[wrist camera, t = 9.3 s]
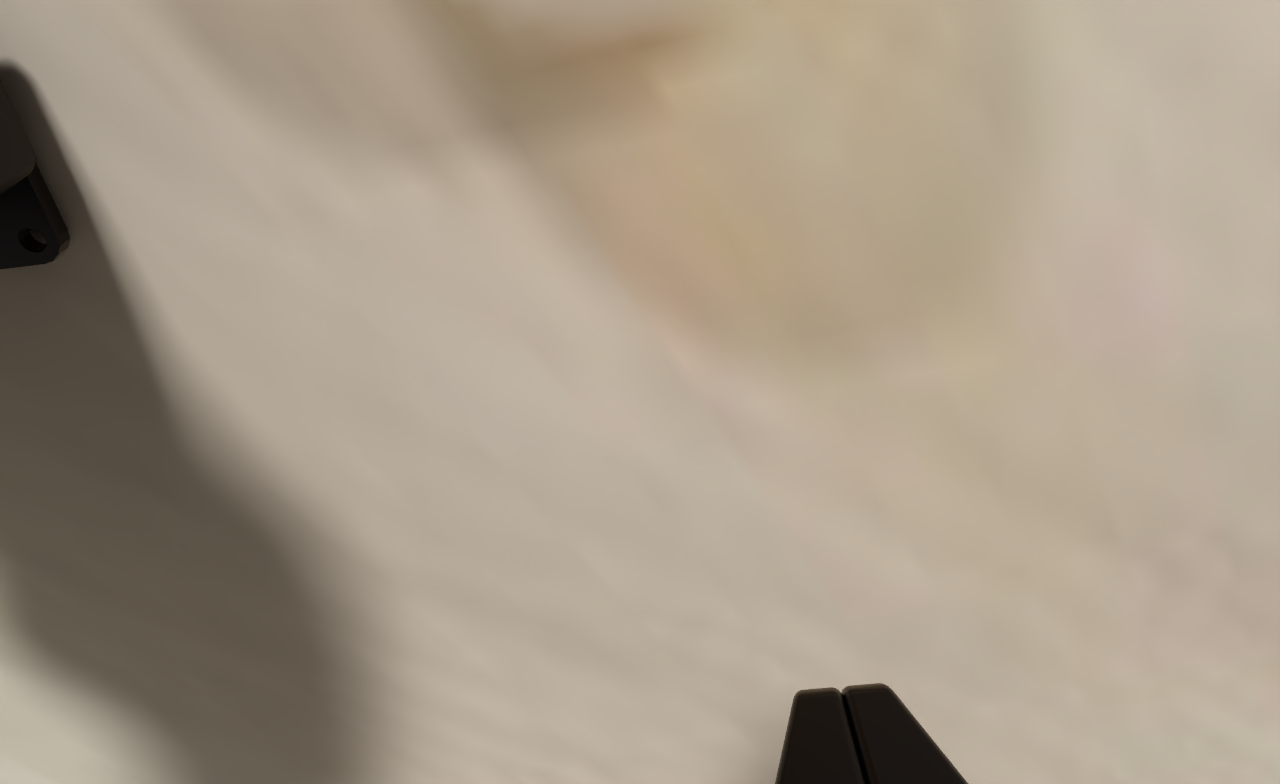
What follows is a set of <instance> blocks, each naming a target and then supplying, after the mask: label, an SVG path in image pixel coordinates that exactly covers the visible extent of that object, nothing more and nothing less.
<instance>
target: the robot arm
mask: <svg viewBox="0 0 1280 784" xmlns="http://www.w3.org/2000/svg"><path fill="white" fill-rule="evenodd" d="M35 162H36V155H35V153H34V151H33V149H32V147H31V145H30V143H29V141H28V139H27V137H26V135H25V132H24V130H23V128H22V126H21V124H20V122H19V120H18V118H17V116H16V114H15V112H14V110H13V108H12V106H11V103H10V101H9V99H8V97H7V95H6V93H5V91H4V89H3V87H2V85H1V83H0V269H7V268H15V267H23V266H32V265H40V264H46V263H49V262H52V261H53V260H55V259H56V258H57V257H58V256H59V255H60V254H61V253H63V252H64V250H65V249H66V248H67V247H68V245H69V240H70V237H69V233H68V229H67V227H66V225H65V223H64V221H63V219H62V217H61V215H60V213H59V211H58V209H57V206H56V204H55V202H54V200H53V198H52V196H51V194H50V192H49V190H48V188H47V186H46V184H45V182H44V180H43V178H42V176H41V174H40V171H39V169H38V167H37V165H36V163H35ZM29 228H30V229H34V230H36V231H38V232H40V233H41V234H42V236H43V237H44V238H45V240H46V244H44V243H40V242H39V241H37V240H35V239H34V238H33V236H32V235H31V234H30V231H29ZM775 784H968V783H967V782H966V780H965V779H964V778H963V777H962V775H961V774H960V773H959V772H958V771H957V769H956V768H955V767H954V766H953V764H952V763H951V762H950V761H949V759H948V758H947V757H946V756H945V754H944V753H943V752H942V751H941V750H940V748H939V747H938V746H937V745H936V743H935V742H934V741H933V740H932V738H931V737H930V736H929V735H928V733H927V732H926V731H925V730H924V728H923V727H922V726H921V725H920V724H919V722H918V721H917V720H916V719H915V717H914V716H913V715H912V714H911V712H910V711H909V710H908V709H907V707H906V706H905V705H904V704H903V703H902V701H901V700H900V699H899V698H898V696H897V695H896V694H895V693H894V692H893V690H892V689H891V688H889V687H888V686H887V685H885V684H881V683H876V684H865V685H854V686H847V687H845V688H844V689H843V690H842V693H840V691H839V690H838V689H836V688H832V687H831V688H820V689H808V690H800V691H798V692H797V693H796V695H795V696H794V699H793V703H792V708H791V713H790V717H789V722H788V727H787V731H786V736H785V741H784V745H783V750H782V754H781V759H780V764H779V768H778V773H777V778H776V782H775Z"/></svg>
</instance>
